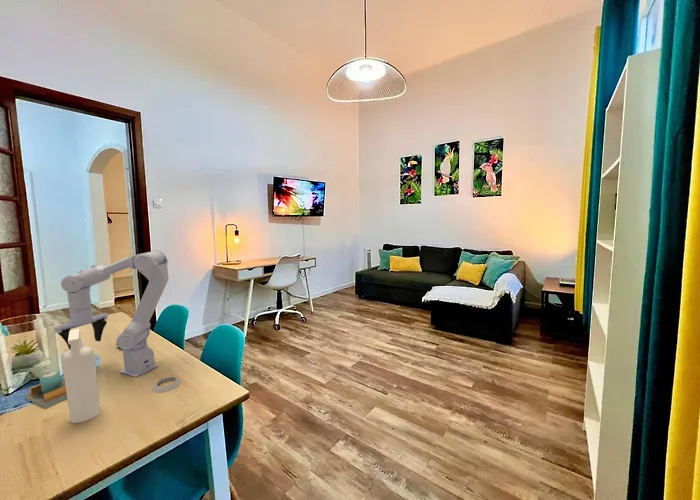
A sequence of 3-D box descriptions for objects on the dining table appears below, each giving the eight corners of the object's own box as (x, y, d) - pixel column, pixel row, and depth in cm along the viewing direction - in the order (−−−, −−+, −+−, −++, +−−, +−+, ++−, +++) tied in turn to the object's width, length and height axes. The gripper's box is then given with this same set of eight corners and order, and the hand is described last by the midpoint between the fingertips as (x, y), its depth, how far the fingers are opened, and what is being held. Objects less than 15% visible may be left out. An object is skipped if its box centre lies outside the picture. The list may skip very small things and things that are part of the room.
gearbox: (90, 388, 97) (89, 378, 97) (45, 408, 87) (44, 397, 87) (70, 380, 102) (68, 371, 102) (25, 399, 92) (23, 388, 92)
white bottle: (103, 397, 92) (90, 320, 88) (102, 419, 82) (87, 334, 78) (73, 407, 88) (58, 326, 84) (69, 431, 78) (51, 342, 74)
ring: (155, 382, 101) (155, 377, 101) (183, 377, 104) (183, 372, 104) (148, 396, 93) (147, 391, 93) (179, 390, 96) (178, 385, 96)
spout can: (64, 388, 94) (61, 369, 94) (45, 396, 90) (42, 376, 90) (59, 384, 97) (56, 366, 96) (39, 392, 93) (36, 372, 92)
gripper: (98, 301, 112) (102, 335, 114) (47, 313, 99) (52, 351, 101) (109, 302, 110) (113, 338, 111) (58, 315, 96) (64, 355, 98)
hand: (85, 345), depth 106 cm, fingers open, 7 cm apart
